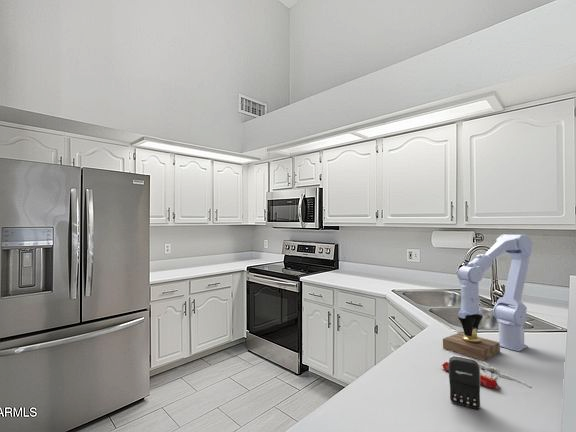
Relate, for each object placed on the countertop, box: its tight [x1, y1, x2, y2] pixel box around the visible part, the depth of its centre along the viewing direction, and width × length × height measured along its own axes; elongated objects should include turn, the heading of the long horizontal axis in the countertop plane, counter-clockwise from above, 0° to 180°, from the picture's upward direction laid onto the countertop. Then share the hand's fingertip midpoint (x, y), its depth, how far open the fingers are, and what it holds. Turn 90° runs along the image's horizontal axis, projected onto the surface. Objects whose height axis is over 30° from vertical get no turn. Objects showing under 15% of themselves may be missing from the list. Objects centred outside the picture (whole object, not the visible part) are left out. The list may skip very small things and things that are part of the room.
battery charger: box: [448, 355, 481, 410], centre depth 76 cm, size 7×4×11 cm, turn 58°
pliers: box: [477, 361, 532, 389], centre depth 92 cm, size 10×2×15 cm
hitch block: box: [442, 331, 501, 362], centre depth 113 cm, size 14×14×4 cm
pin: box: [463, 327, 482, 344], centre depth 113 cm, size 6×6×7 cm
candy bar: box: [440, 361, 501, 388], centre depth 90 cm, size 16×4×3 cm, turn 32°
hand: (470, 334), depth 113 cm, fingers closed on pin, 4 cm apart
